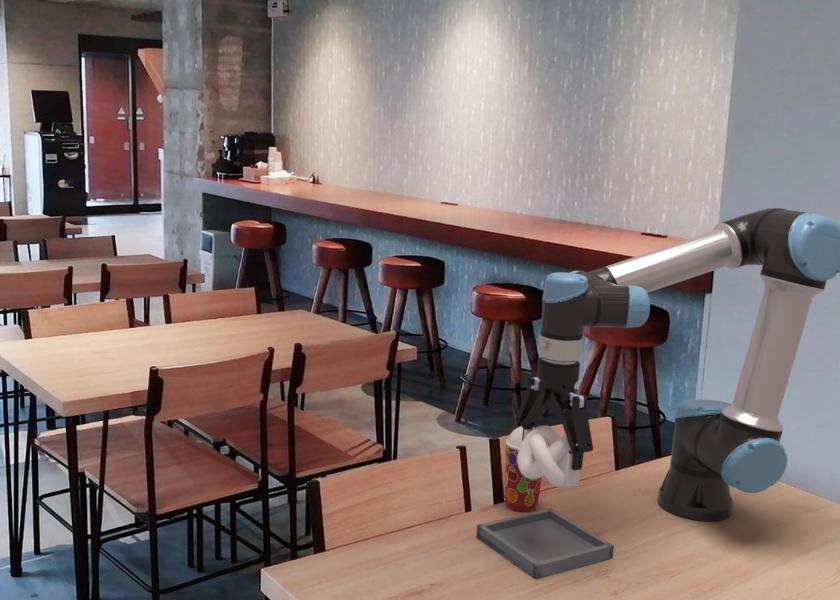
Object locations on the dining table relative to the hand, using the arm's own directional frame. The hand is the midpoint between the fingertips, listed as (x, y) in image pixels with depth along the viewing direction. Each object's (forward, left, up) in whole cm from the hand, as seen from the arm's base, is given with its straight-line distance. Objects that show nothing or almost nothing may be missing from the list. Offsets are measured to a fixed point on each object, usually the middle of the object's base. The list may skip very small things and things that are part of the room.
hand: (549, 473), depth 166 cm
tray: (0, 0, -15) cm, 15 cm away
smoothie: (-8, -17, -15) cm, 24 cm away
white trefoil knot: (0, +1, -1) cm, 1 cm away
